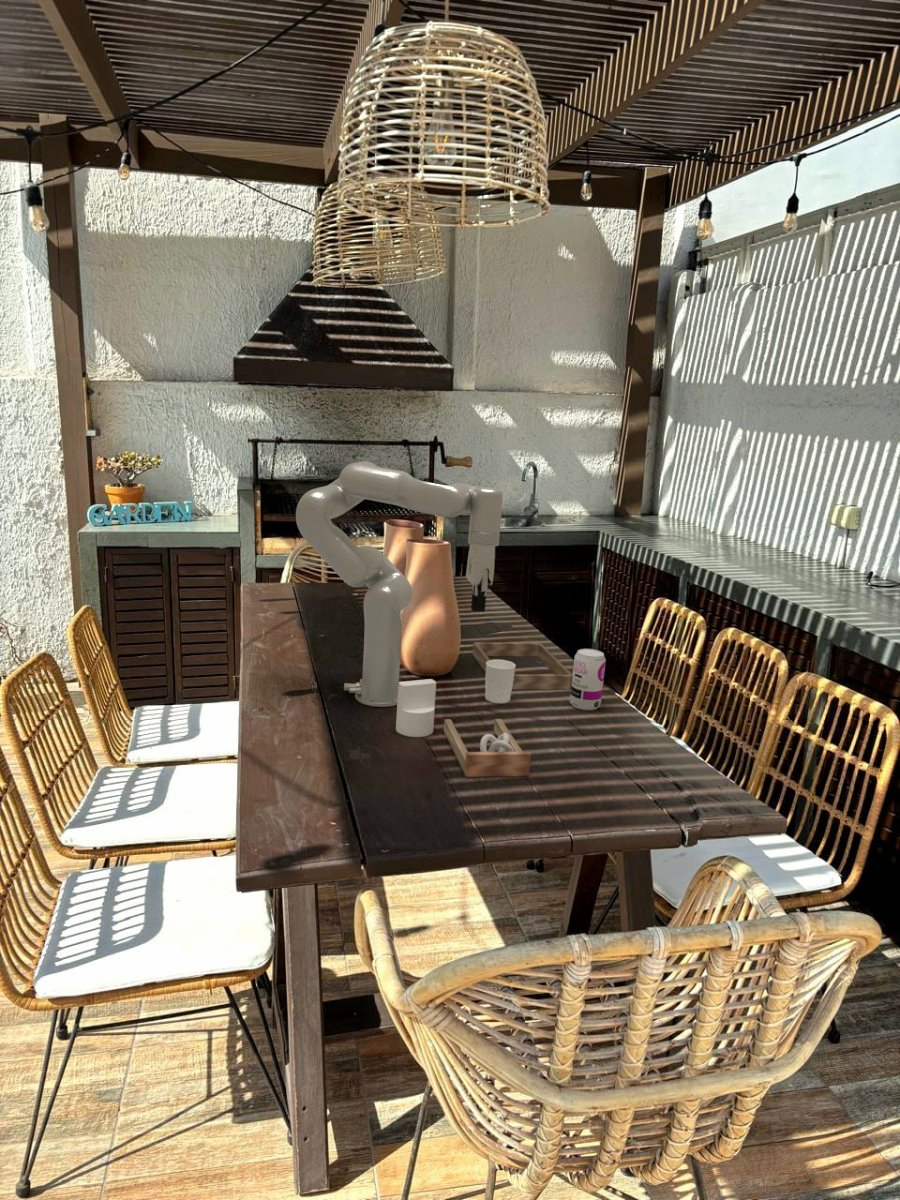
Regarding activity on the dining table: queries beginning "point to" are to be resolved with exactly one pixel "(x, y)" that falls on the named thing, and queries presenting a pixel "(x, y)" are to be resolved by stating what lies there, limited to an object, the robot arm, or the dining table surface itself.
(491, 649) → the serving tray rim
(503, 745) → the knot
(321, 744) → the dining table surface
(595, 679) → the supplement can
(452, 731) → the guide channel
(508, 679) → the white cup
